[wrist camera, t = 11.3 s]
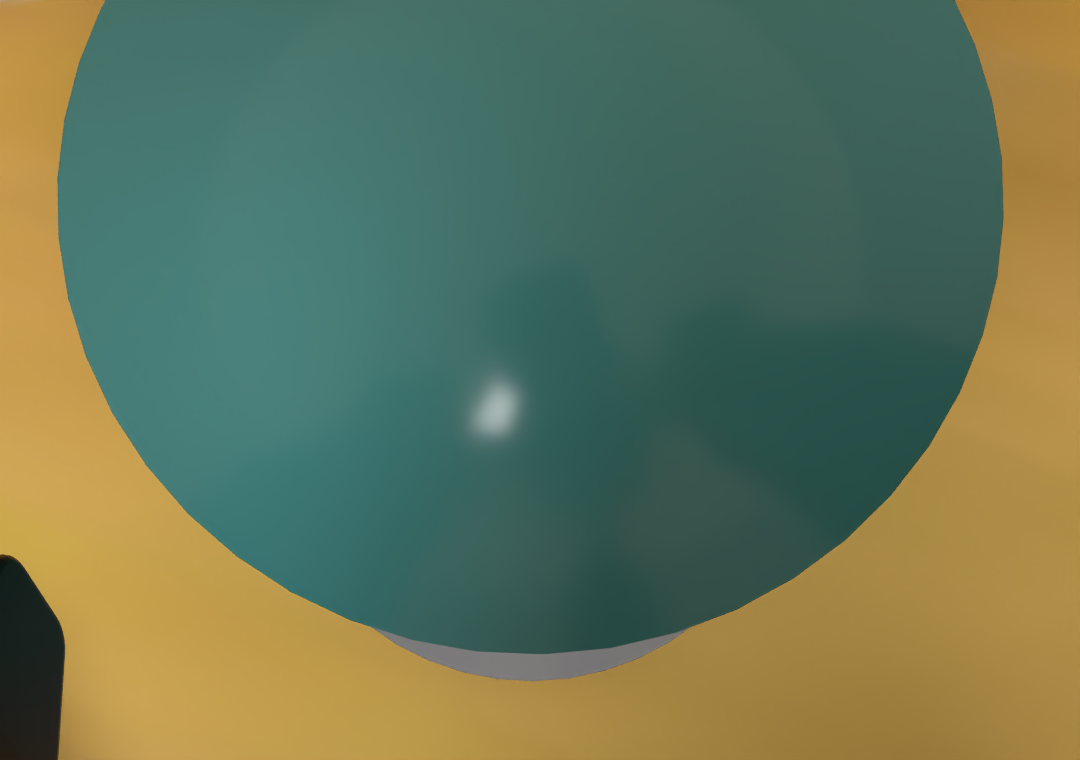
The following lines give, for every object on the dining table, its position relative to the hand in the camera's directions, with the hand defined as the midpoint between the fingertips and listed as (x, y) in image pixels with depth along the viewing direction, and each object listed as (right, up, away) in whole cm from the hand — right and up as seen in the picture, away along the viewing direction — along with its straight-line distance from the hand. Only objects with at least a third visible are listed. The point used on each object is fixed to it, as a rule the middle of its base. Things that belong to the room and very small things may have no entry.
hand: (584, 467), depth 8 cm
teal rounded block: (0, 0, +11) cm, 11 cm away
